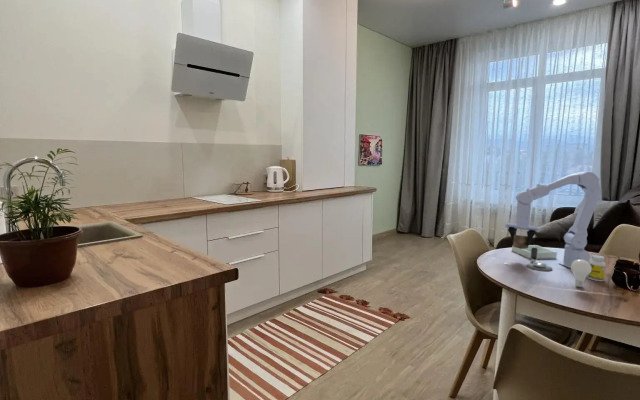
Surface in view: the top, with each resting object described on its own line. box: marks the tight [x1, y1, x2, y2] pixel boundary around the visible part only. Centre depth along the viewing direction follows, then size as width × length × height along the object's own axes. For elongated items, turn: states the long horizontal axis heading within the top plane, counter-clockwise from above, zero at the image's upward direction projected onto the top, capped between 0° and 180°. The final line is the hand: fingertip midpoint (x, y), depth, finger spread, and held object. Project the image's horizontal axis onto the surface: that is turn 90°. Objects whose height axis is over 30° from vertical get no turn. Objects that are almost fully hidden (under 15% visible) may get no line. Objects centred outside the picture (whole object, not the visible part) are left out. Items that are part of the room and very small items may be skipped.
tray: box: [511, 244, 558, 260], centre depth 178 cm, size 14×14×4 cm
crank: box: [530, 247, 547, 268], centre depth 161 cm, size 14×5×7 cm, turn 161°
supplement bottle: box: [587, 254, 607, 282], centre depth 142 cm, size 5×5×10 cm
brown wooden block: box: [512, 233, 528, 249], centre depth 165 cm, size 4×4×6 cm
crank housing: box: [503, 262, 553, 272], centre depth 158 cm, size 20×10×1 cm, turn 71°
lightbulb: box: [570, 259, 592, 288], centre depth 132 cm, size 6×6×11 cm
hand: (520, 244), depth 165 cm, fingers closed on brown wooden block, 6 cm apart
